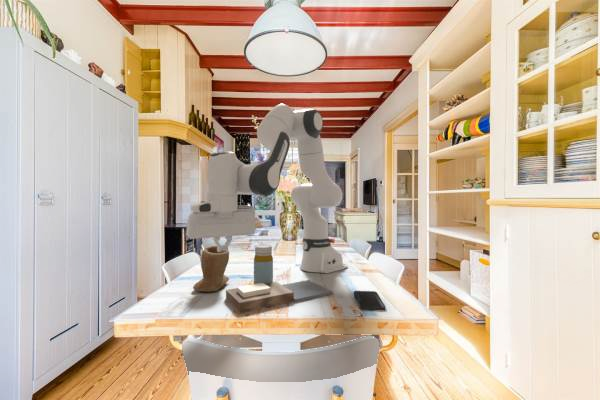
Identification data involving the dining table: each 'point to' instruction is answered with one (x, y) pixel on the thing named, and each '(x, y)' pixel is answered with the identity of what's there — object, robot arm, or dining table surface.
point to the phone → (369, 300)
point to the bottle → (263, 264)
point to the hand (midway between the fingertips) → (222, 251)
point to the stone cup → (212, 269)
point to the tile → (253, 290)
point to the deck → (260, 298)
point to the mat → (307, 290)
